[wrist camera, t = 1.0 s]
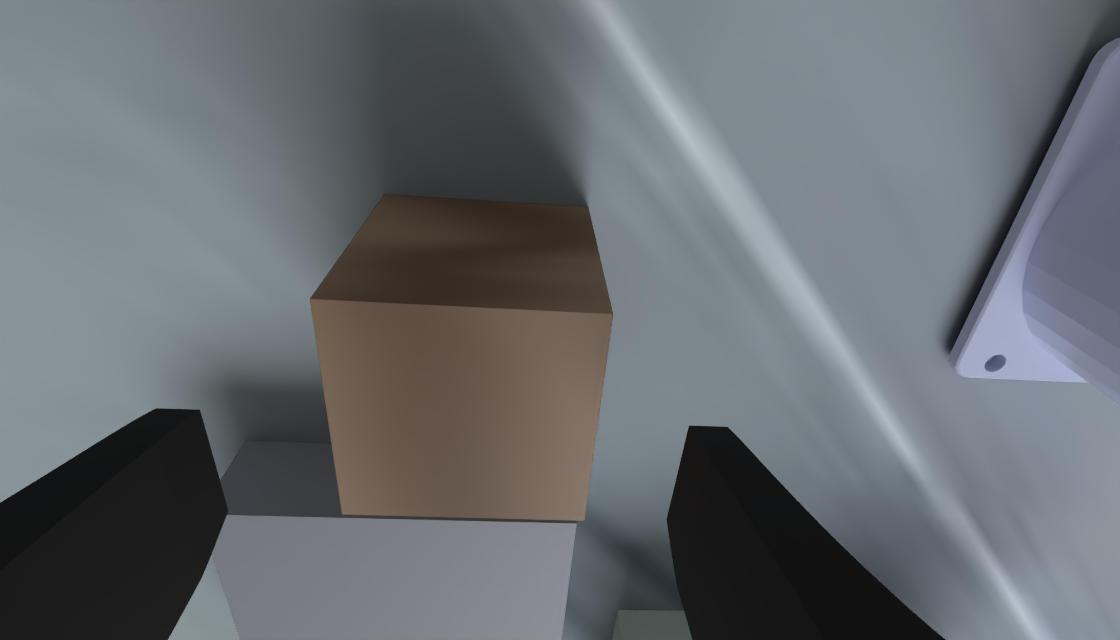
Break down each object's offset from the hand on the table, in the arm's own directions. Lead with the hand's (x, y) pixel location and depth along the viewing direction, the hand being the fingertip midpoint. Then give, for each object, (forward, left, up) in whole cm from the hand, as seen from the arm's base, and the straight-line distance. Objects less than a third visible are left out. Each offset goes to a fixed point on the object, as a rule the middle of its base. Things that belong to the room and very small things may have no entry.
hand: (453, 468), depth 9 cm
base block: (+2, +9, -6) cm, 12 cm away
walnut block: (0, 0, -6) cm, 6 cm away
